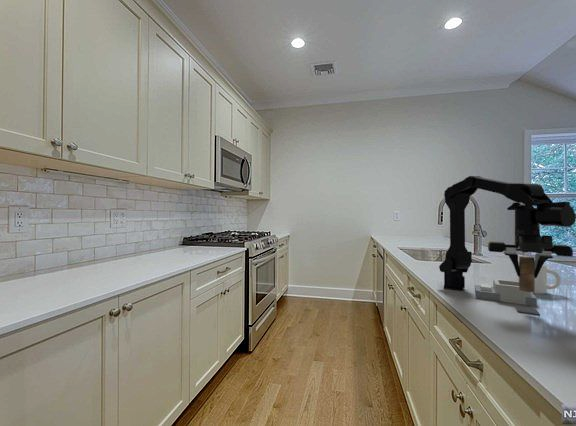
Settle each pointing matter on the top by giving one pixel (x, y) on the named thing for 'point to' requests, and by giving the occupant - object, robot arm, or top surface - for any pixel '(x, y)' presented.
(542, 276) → the mug
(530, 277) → the dowel
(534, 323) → the top surface
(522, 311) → the pad
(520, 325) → the top surface
